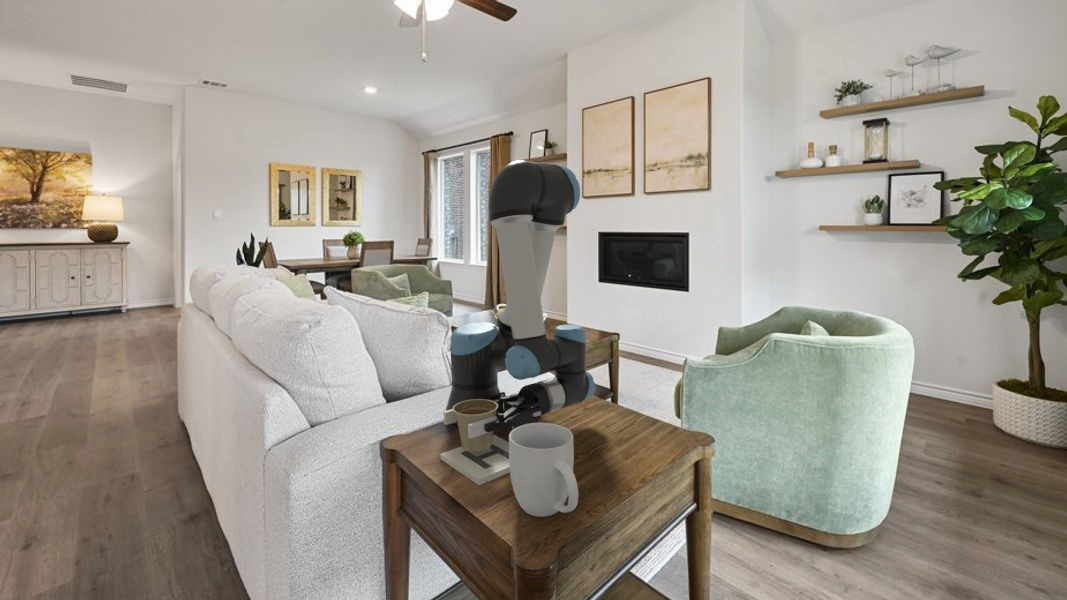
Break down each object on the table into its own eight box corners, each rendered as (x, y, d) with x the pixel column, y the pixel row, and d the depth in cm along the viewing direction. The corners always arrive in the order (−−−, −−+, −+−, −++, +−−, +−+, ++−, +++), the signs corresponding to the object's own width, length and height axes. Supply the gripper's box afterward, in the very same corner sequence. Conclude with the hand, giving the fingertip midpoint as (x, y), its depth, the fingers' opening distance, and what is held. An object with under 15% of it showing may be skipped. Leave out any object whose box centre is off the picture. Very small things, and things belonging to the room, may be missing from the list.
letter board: (440, 459, 102) (440, 453, 102) (494, 439, 111) (494, 434, 111) (478, 485, 91) (478, 479, 91) (535, 461, 100) (535, 456, 100)
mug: (601, 522, 80) (602, 447, 78) (546, 547, 74) (546, 465, 72) (548, 483, 92) (548, 417, 90) (497, 501, 86) (496, 431, 84)
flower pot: (444, 449, 100) (442, 409, 99) (473, 433, 108) (471, 396, 107) (480, 460, 95) (479, 418, 94) (508, 442, 103) (507, 403, 102)
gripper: (573, 427, 105) (487, 460, 91) (512, 402, 121) (431, 426, 106) (573, 394, 104) (486, 422, 89) (511, 373, 120) (429, 393, 105)
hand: (456, 424), depth 98 cm, fingers closed on flower pot, 8 cm apart
